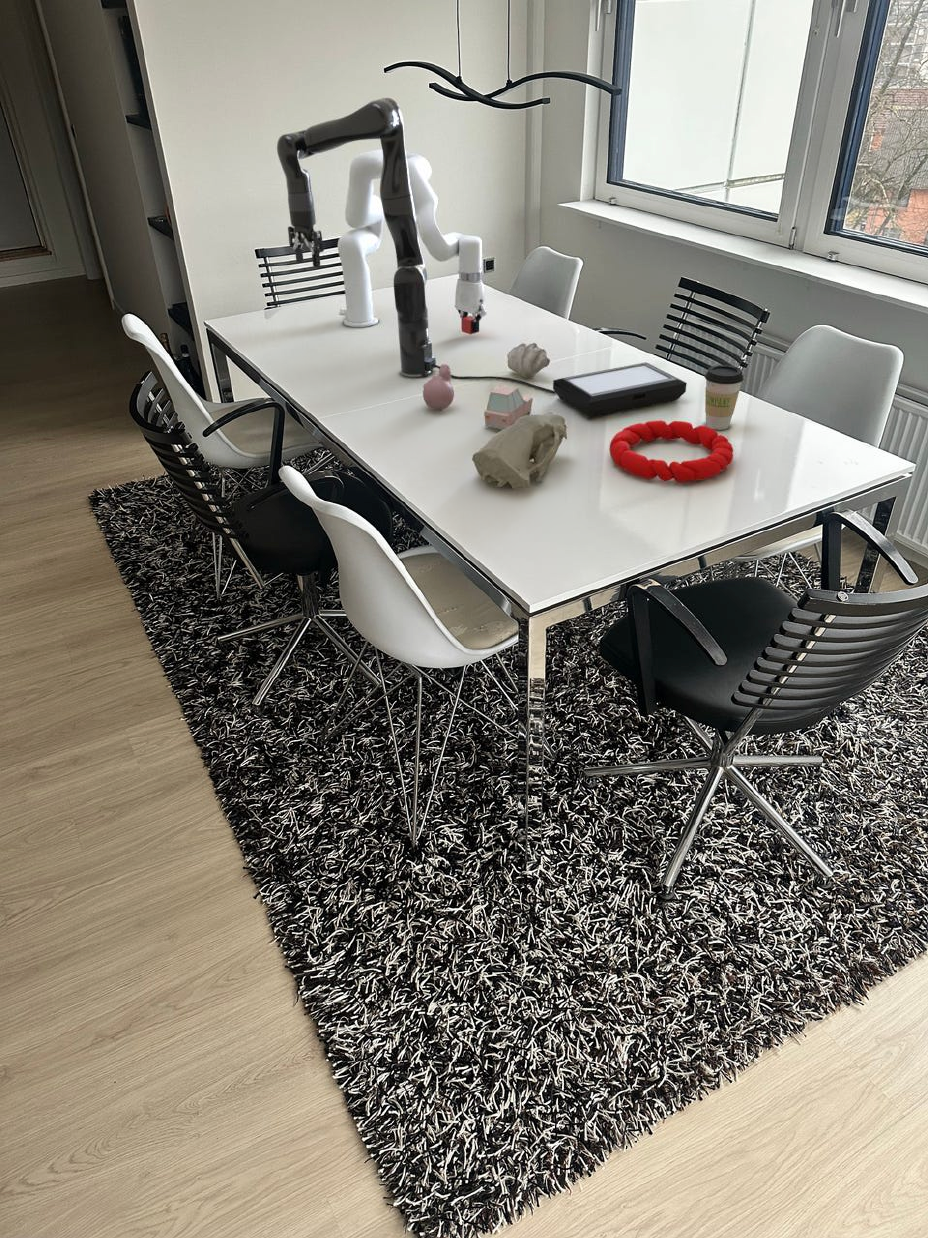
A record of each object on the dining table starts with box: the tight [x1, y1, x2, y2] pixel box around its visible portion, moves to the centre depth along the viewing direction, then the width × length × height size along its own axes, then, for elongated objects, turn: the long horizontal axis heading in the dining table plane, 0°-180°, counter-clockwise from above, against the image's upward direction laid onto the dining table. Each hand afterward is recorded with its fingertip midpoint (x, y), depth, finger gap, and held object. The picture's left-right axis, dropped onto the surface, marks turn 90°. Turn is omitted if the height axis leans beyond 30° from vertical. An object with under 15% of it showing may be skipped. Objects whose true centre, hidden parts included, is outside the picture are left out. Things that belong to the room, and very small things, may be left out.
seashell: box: [506, 342, 551, 379], centre depth 273 cm, size 10×15×10 cm
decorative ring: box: [609, 419, 734, 483], centre depth 221 cm, size 7×30×30 cm
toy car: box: [483, 385, 534, 430], centre depth 242 cm, size 9×15×10 cm, turn 149°
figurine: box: [422, 363, 455, 411], centre depth 252 cm, size 9×11×12 cm
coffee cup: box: [704, 364, 745, 431], centre depth 235 cm, size 10×10×15 cm
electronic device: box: [552, 362, 688, 419], centre depth 255 cm, size 32×6×20 cm
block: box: [461, 315, 474, 335], centre depth 307 cm, size 4×4×5 cm
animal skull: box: [471, 411, 568, 490], centre depth 215 cm, size 17×25×20 cm
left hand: (470, 330), depth 308 cm, fingers closed on block, 4 cm apart
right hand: (308, 264), depth 277 cm, fingers open, 8 cm apart
